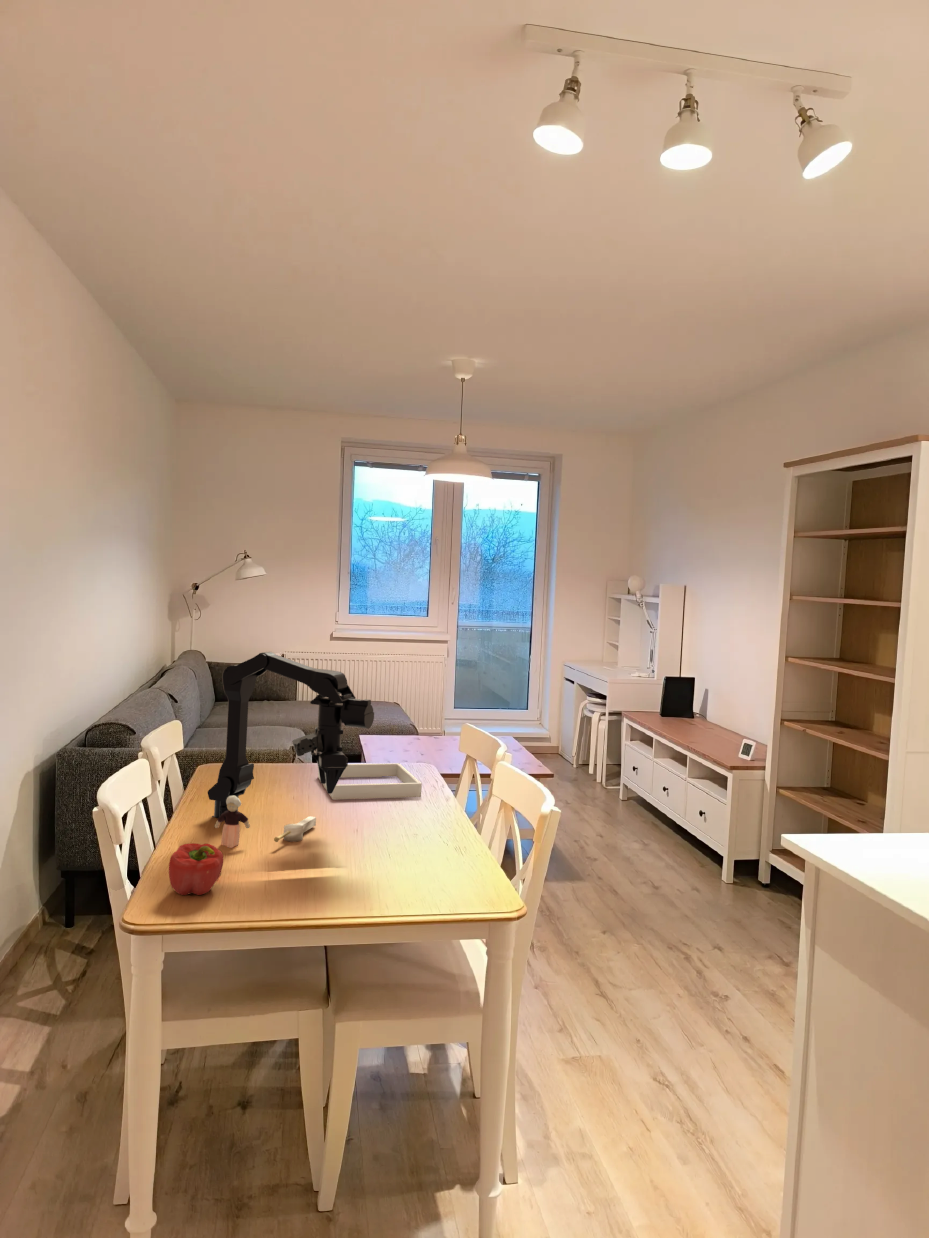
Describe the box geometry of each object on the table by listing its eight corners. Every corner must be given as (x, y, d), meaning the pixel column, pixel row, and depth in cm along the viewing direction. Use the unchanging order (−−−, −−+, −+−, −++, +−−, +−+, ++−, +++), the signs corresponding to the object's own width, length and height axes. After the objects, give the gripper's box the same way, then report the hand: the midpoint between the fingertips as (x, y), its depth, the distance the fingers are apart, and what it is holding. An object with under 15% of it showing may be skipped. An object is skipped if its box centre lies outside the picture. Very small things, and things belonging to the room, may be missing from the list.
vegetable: (234, 894, 161) (237, 843, 161) (186, 907, 153) (188, 854, 153) (204, 878, 168) (207, 830, 168) (157, 890, 161) (159, 840, 160)
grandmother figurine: (213, 854, 183) (215, 798, 182) (213, 848, 186) (216, 793, 186) (248, 853, 185) (251, 797, 184) (248, 847, 188) (251, 793, 188)
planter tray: (317, 777, 257) (318, 764, 257) (398, 775, 266) (399, 763, 266) (332, 799, 233) (333, 785, 233) (421, 796, 242) (421, 783, 241)
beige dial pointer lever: (283, 851, 183) (284, 838, 183) (266, 848, 184) (266, 836, 184) (320, 827, 202) (321, 816, 201) (303, 825, 203) (304, 814, 202)
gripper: (290, 717, 204) (287, 779, 205) (301, 731, 186) (297, 799, 187) (335, 717, 208) (332, 778, 208) (350, 731, 190) (346, 798, 191)
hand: (326, 788), depth 199 cm, fingers open, 9 cm apart
